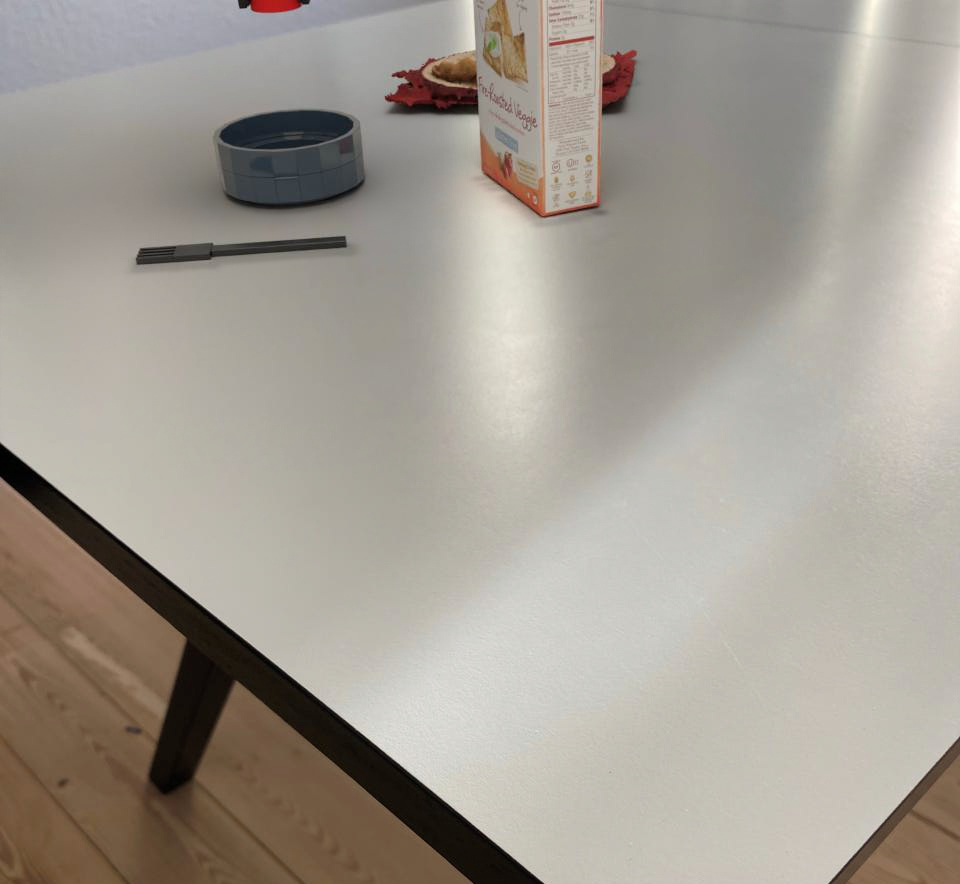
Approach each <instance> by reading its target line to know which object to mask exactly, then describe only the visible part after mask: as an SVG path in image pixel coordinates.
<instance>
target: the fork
mask: <svg viewBox="0 0 960 884" xmlns="http://www.w3.org/2000/svg"><path fill="white" fill-rule="evenodd" d="M346 247H347V236H346V235H337V236H336V235H335V236H323V237H308V238H296V239H281V240H268V241H253V242H239V243H229V244H227V243H226V244H214V242H205V243H204V242H203V243H191V244H176V245H165V246H163V245H162V246H150V247H149V246H148V247H140V248H138V249H139V250H138V252H137V254H136V257H135V262H136V265H145V264H146V265H147V264H160V263H174V262H176V263H177V262H189V261H204V260H211V259H212V257H220V256H221V257H222V256H233V255H234V256H236V255H248V254H249V255H251V254H263V253H279V252H290V251H305V250H318V249H319V250H321V249H332V248H333V249H334V248H346Z"/></svg>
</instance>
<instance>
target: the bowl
mask: <svg viewBox="0 0 960 884" xmlns="http://www.w3.org/2000/svg"><path fill="white" fill-rule="evenodd" d="M212 142H213V147H214V153H215V158H216V162H217V169H218V174H219V178H220V179H219V180H220V186H221V189H222V190H223V191H224V192H225V194H226V195H228V196H231V197H233V198H235V199H237V200H240V201H245V202H250V203H253V204H259V205H266V206H293V205H295V206H296V205H304V204H305V205H306V204H310V203H317V202H321V201H324V200H327V199H330V198H334V197H337V196H338V195H340V194H342V193H345V192H346V191H349V190H350V189H352V188H355V187H356V186H359V184H361V182H362V181H363V180H364V179H365V177H366V168H365V167H366V166H365V158H364V149H363V138H362V128H361V121H360V120H359V119H358V117H356V116H354V115H352V114H350V113H347V112H343V111H340V110H332V109H325V108H289V109H277V110H271V111H264V112H258V113H254V114H250V115H246V116H241V117H238V118H236V119H234V120H231V121H229V122H226V123H224V124H222V125H221V126H219V127H218V128H217V129H215V130H214V133H213V134H212Z"/></svg>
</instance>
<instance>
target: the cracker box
mask: <svg viewBox="0 0 960 884" xmlns="http://www.w3.org/2000/svg"><path fill="white" fill-rule="evenodd" d="M604 1H605V0H472V2H473V4H472V5H473V24H474V43H475V44H474V45H475V50H476V67H477V86H478V94H477V98H478V103H477V105H478V122H479V124H478V126H479V145H480V146H479V147H480V163H481V164H480V165H481V171H482V172H484V173H485V174H487V175H488V176H489V177H490V178H492V179H493V180H495V182H497V183H498V184H500V185H501V186H502V187H503V188H504V189H506V190H507V191H509V192H510V193H511V194H513V195H514V196H515V197H517V198H518V199H519V200H521V201H522V202H523V203H524V204H526V205H527V206H529V208H531V209H532V210H533V211H535V212H536V213H538V214H539V215H540V216H541V217H548V216H554V215H558V214H562V213H567V212H572V211H577V210H581V209H586V208H592V207H596V206H600V204H601V165H602V164H601V161H602V116H603V115H602V113H603V112H602V109H603V108H602V64H603V54H604V48H603V47H604V8H605V7H604V6H605V5H604V3H605V2H604Z"/></svg>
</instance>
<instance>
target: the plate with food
mask: <svg viewBox="0 0 960 884" xmlns="http://www.w3.org/2000/svg"><path fill="white" fill-rule="evenodd" d="M637 54H638V51H637V50H635V49H631V50H629V51H628V52H626V53H624V54H621V52H620V51H618V50H617V51H616V54H614V53H613V54H611V55H610V54H606V53H605V52H603V64H602V109H603V108H606V107H607V106H608V105H609V104H610V103H611V102H613V103H616V102H617V101H618V100H620V99H622V100H626V97H627V93H628V89H629V87H630V86H631V85H632V82H633V79H634V78H633V77H634V71H635V70H634V69H635V66H636V60H635V59H634V58H635V57H637V56H638V55H637ZM424 64H425V65H424ZM422 65H424V66H422ZM390 76H391V77H392V78H395V77H396V78H398V79H404V80H405V81H406V82H405V83H400V84H398V85H397V89H396V91H395V92H394V93H392V92H389V94H386V95H384V100H385V101H386V102H387V103H395V104H401V105H403V104H404V107H405V106H408V107H411V106H414V105H420V104H422V105H436V107H438V109H441V108H443V109H446V110H447V109H448V107H451V106H452V104H453V105H455V104H460V105H475V104H476V105H477V104H478V97H476V96H478V86H477V67H476V49H474V50H469V51H464V52H458V53H453V54H452V55H451V54H450V55H448V57H446V56H442V57H441V58H438V59H435V58H434V57H433V58H431V57H428V59H427V60H426V61H425V63H422V64H421V66H420V68H419V69H409V70H408V71H407V70H405V69H402V70H400V71H396V72H393V73H392V74H391V75H390Z"/></svg>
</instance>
